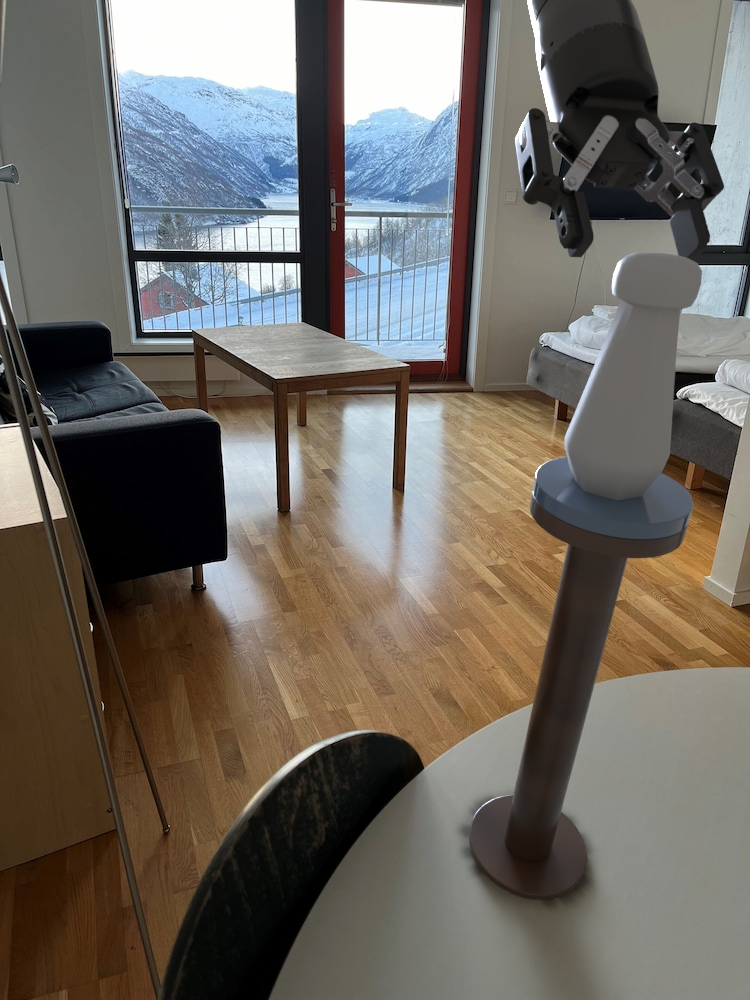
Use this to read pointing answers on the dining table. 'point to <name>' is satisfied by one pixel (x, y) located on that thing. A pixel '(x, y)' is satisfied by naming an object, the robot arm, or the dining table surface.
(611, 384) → the salt shaker
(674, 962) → the dining table surface
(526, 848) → the stand
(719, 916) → the dining table surface
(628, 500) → the blue round disc
